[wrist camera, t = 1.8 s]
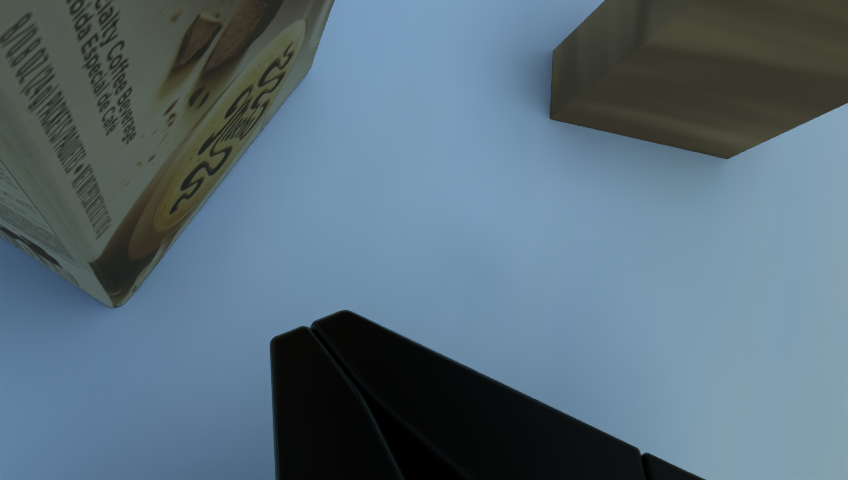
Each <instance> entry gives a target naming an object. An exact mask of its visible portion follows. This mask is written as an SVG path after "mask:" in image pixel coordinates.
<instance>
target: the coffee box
mask: <svg viewBox="0 0 848 480" xmlns="http://www.w3.org/2000/svg"><path fill="white" fill-rule="evenodd" d="M334 1H335V0H0V236H1V237H3V238H4V239H6V240H7V241H9V242H10V243H12V244H13V245H15V246H16V247H18V248H19V249H21V250H22V251H24V252H25V253H27V254H28V255H30V256H31V257H33V258H34V259H36V260H37V261H39V262H40V263H42V264H43V265H45V266H46V267H48V268H49V269H51V270H52V271H54V272H55V273H57V274H58V275H60V276H62V277H63V278H65V279H66V280H68V281H69V282H71V283H72V284H74V285H75V286H77V287H78V288H80V289H81V290H83V291H85V292H86V293H88V294H89V295H91V296H92V297H94V298H95V299H97V300H98V301H100V302H101V303H103V304H105V305H106V306H108V307H111V308H114V307H120V306H121V305H123V304H125V303H126V302H127V301H128V299H129V298H130V297H131V296H132V295H133V293H134V292H135V291H136V290H137V289H138V287H139V286H140V285H141V284H142V282H143V281H144V280H145V279H146V277H147V276H148V275H149V274H150V272H151V271H152V270H153V268H154V267H155V266H156V265H157V263H158V262H159V261H160V260H161V258H162V257H163V256H164V254H165V253H166V252H167V251H168V249H169V248H170V247H171V245H172V244H173V243H174V242H175V240H176V239H177V238H178V237H179V235H180V234H181V233H182V231H183V230H184V229H185V228H186V226H187V225H188V224H189V223H190V221H191V220H192V219H193V217H194V216H195V215H196V214H197V212H198V211H199V210H200V209H201V207H202V206H203V205H204V203H205V202H206V201H207V200H208V198H209V197H210V196H211V195H212V193H213V192H214V191H215V189H216V188H217V187H218V186H219V184H220V183H221V182H222V181H223V179H224V178H225V177H226V175H227V174H228V173H229V172H230V170H231V169H232V168H233V166H234V165H235V164H236V163H237V161H238V160H239V159H240V158H241V156H242V155H243V154H244V152H245V151H246V150H247V149H248V147H249V146H250V145H251V143H252V142H253V141H254V140H255V138H256V137H257V136H258V134H259V133H260V132H261V131H262V129H263V128H264V127H265V125H266V124H267V123H268V122H269V120H270V119H271V118H272V117H273V115H274V114H275V113H276V111H277V110H278V109H279V108H280V106H281V105H282V104H283V103H284V101H285V100H286V99H287V97H288V96H289V95H290V94H291V92H292V91H293V90H294V89H295V87H296V86H297V85H298V84H299V82H300V81H301V80H302V79H303V78H304V76H305V75H306V74H307V72H308V71H309V70H310V68H311V66H312V63H313V59H314V56H315V53H316V50H317V48H318V45H319V42H320V39H321V36H322V33H323V31H324V28H325V25H326V22H327V20H328V16H329V13H330V11H331V8H332V6H333V3H334Z"/></svg>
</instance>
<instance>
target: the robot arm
mask: <svg viewBox="0 0 848 480" xmlns="http://www.w3.org/2000/svg"><path fill="white" fill-rule="evenodd" d="M270 361H271V385H272V409H273V432H274V456H275V480H705V479H703V478H701V477H698V476H696V475H694V474H692V473H689V472H687V471H685V470H683V469H681V468H679V467H677V466H675V465H672V464H670V463H668V462H666V461H664V460H662V459H660V458H658V457H656V456H654V455H652V454H649V453H644V454H642V456H641V453H640V451H639V449H638V448H636V447H634V446H632V445H630V444H628V443H626V442H624V441H622V440H619V439H617V438H615V437H613V436H611V435H609V434H607V433H605V432H603V431H601V430H599V429H596V428H594V427H592V426H590V425H588V424H586V423H584V422H582V421H580V420H578V419H576V418H573V417H571V416H569V415H567V414H565V413H563V412H561V411H559V410H557V409H555V408H553V407H550V406H548V405H546V404H544V403H542V402H540V401H538V400H536V399H534V398H532V397H530V396H527V395H525V394H523V393H521V392H519V391H517V390H515V389H513V388H511V387H509V386H507V385H504V384H502V383H500V382H498V381H496V380H494V379H492V378H490V377H488V376H486V375H484V374H481V373H479V372H477V371H475V370H473V369H471V368H469V367H467V366H465V365H463V364H461V363H458V362H456V361H454V360H452V359H450V358H448V357H446V356H444V355H442V354H440V353H438V352H435V351H433V350H431V349H429V348H427V347H425V346H423V345H421V344H419V343H417V342H415V341H412V340H410V339H408V338H406V337H404V336H402V335H400V334H398V333H396V332H394V331H392V330H389V329H387V328H385V327H383V326H381V325H379V324H377V323H375V322H373V321H371V320H369V319H366V318H364V317H362V316H360V315H358V314H356V313H354V312H352V311H348V310H342V311H339V312H336V313H334V314H331V315H329V316H326V317H324V318H321V319H318V320H316V321H314V322H313V323H312V325H311V326H310V328H309V327H307V326H301V327H298V328H296V329H293V330H291V331H288V332H286V333H283V334H281V335H278V336H276V337H274V338H273V339H272V340H271V342H270Z"/></svg>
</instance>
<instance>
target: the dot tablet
mask: <svg viewBox="0 0 848 480" xmlns="http://www.w3.org/2000/svg"><path fill="white" fill-rule="evenodd" d="M846 103H848V0H605V1H604V2H603V3H602V4H601V5H600V6H599V7H598V8H597V9H596V10H595V11H594V12H593V13H592V14H591V15H589V16H588V17H587V18H586V19H585V20H584V21H583V22H582V23H581V24H580V25H579V26H578V27H577V28H576V29H575V30H574V31H573V32H572V33H571V34H570V35H569V36H568V37H567V38H566V39H565V40H564V41H563V42H562V43H561V44H560V45H559V46H558V47H557V48H556V49H555V50H553V66H552V86H551V107H550V119H553V120H557V121H562V122H566V123H570V124H575V125H579V126H584V127H588V128H593V129H597V130H601V131H606V132H610V133H615V134H619V135H624V136H628V137H632V138H637V139H641V140H646V141H650V142H655V143H659V144H663V145H668V146H672V147H677V148H681V149H686V150H690V151H694V152H699V153H703V154H708V155H712V156H717V157H721V158H725V159H729V158H731V157H733V156H735V155H737V154H739V153H741V152H744V151H746V150H748V149H750V148H752V147H754V146H756V145H759V144H761V143H763V142H765V141H767V140H769V139H771V138H774V137H776V136H778V135H780V134H782V133H784V132H786V131H789V130H791V129H793V128H795V127H797V126H799V125H801V124H804V123H806V122H808V121H810V120H812V119H814V118H816V117H818V116H821V115H823V114H825V113H827V112H829V111H831V110H833V109H836V108H838V107H840V106H842V105H844V104H846Z"/></svg>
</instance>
